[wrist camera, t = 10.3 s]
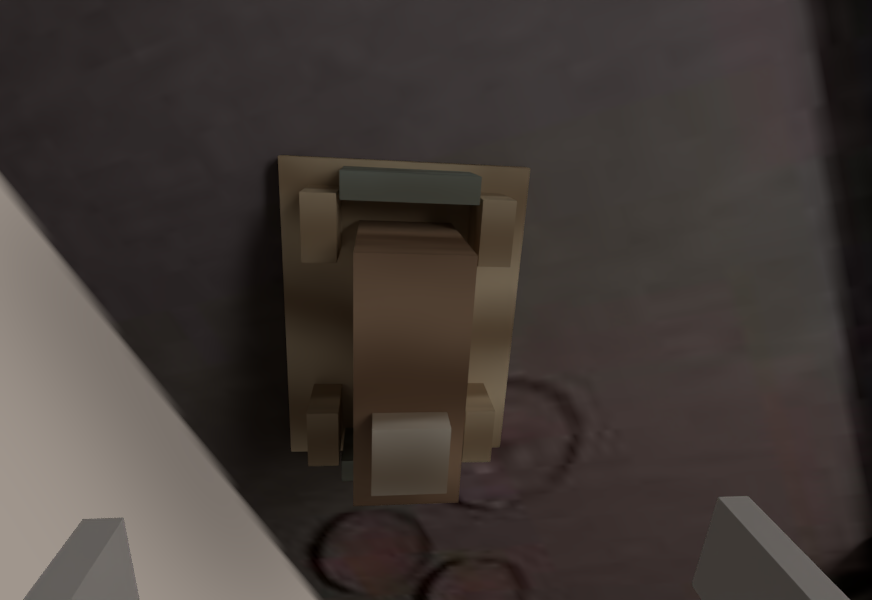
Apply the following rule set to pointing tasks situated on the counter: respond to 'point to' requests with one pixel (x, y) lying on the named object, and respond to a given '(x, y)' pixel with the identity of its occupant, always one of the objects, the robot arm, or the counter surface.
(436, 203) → the cradle
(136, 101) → the counter surface
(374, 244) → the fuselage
